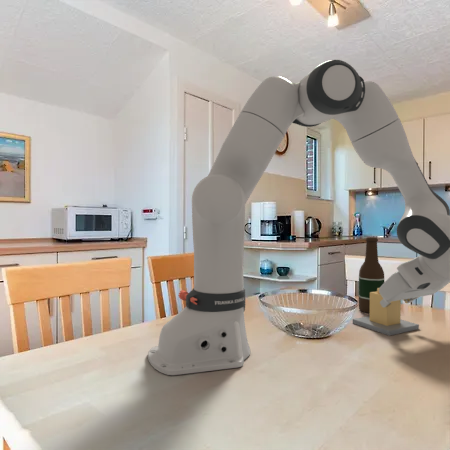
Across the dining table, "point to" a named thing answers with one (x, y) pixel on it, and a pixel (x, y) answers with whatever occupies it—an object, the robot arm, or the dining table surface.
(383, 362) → the dining table surface
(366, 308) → the beer bottle
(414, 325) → the plate
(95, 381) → the dining table surface
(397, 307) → the tan toy brick
